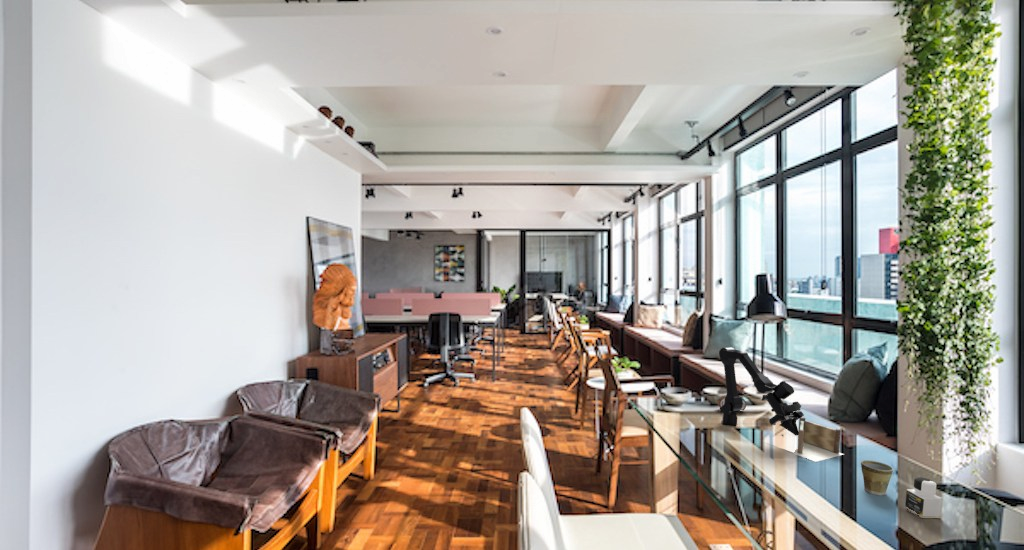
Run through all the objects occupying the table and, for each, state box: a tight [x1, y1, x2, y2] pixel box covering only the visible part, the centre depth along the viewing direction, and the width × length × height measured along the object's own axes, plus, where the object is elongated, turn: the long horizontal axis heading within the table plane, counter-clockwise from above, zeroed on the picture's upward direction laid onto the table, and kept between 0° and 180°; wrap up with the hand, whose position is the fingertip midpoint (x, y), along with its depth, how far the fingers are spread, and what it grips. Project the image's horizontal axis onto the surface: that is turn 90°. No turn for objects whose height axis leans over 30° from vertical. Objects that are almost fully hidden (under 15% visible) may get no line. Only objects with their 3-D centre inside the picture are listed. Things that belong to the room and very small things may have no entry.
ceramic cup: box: [860, 459, 894, 496], centre depth 200 cm, size 13×10×10 cm
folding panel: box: [797, 421, 804, 453], centre depth 242 cm, size 18×2×10 cm, turn 150°
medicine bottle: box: [904, 476, 943, 517], centre depth 182 cm, size 7×7×12 cm
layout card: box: [792, 441, 845, 463], centre depth 243 cm, size 28×22×1 cm
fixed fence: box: [798, 416, 842, 454], centre depth 244 cm, size 19×2×11 cm, turn 30°
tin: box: [717, 394, 747, 411], centre depth 298 cm, size 15×3×8 cm, turn 84°
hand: (797, 435), depth 241 cm, fingers closed
